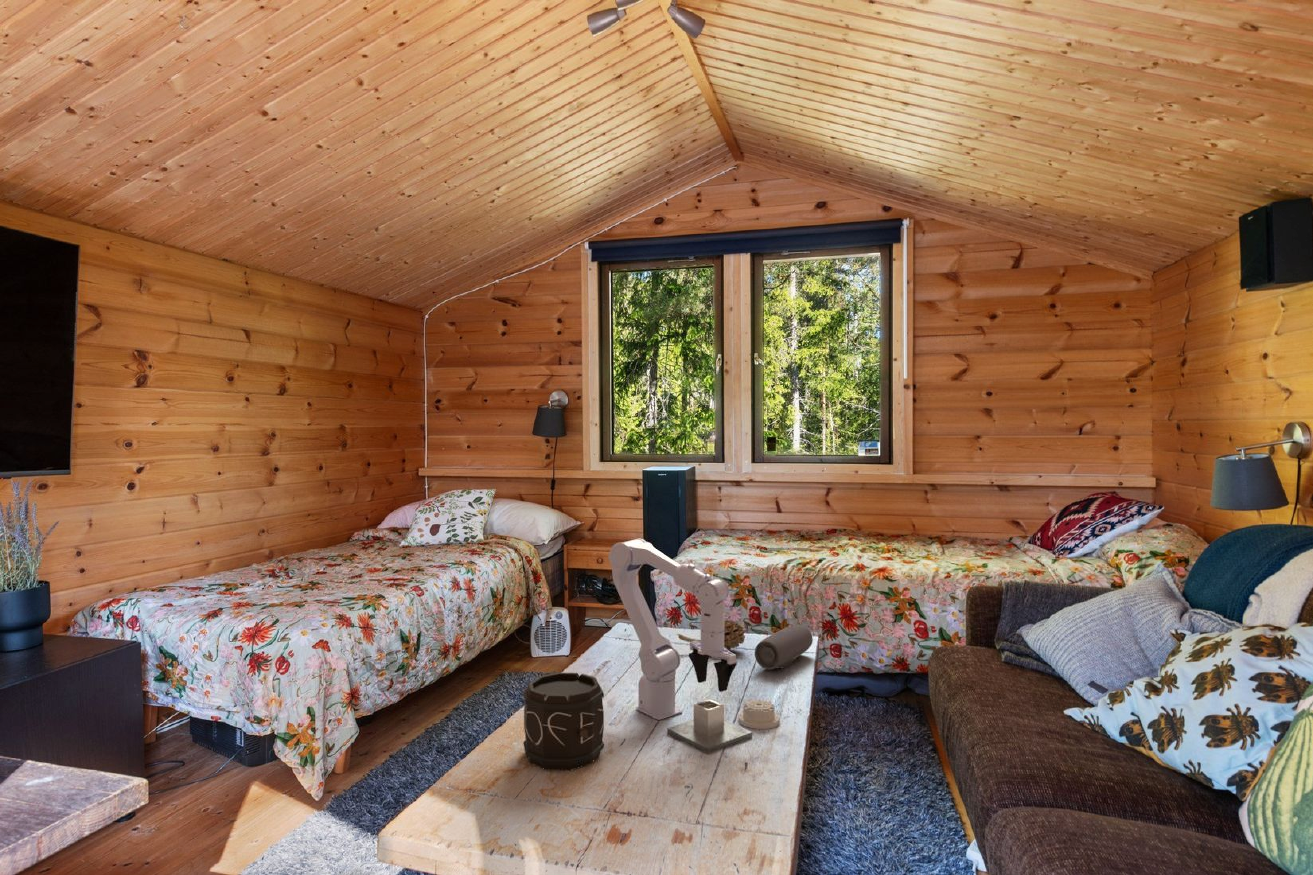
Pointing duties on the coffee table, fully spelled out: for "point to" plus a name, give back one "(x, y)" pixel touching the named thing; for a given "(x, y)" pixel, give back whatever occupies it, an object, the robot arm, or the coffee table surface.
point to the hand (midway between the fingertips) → (712, 686)
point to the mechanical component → (759, 715)
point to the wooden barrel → (563, 721)
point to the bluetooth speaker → (783, 647)
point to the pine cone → (726, 635)
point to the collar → (708, 717)
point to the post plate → (712, 742)
